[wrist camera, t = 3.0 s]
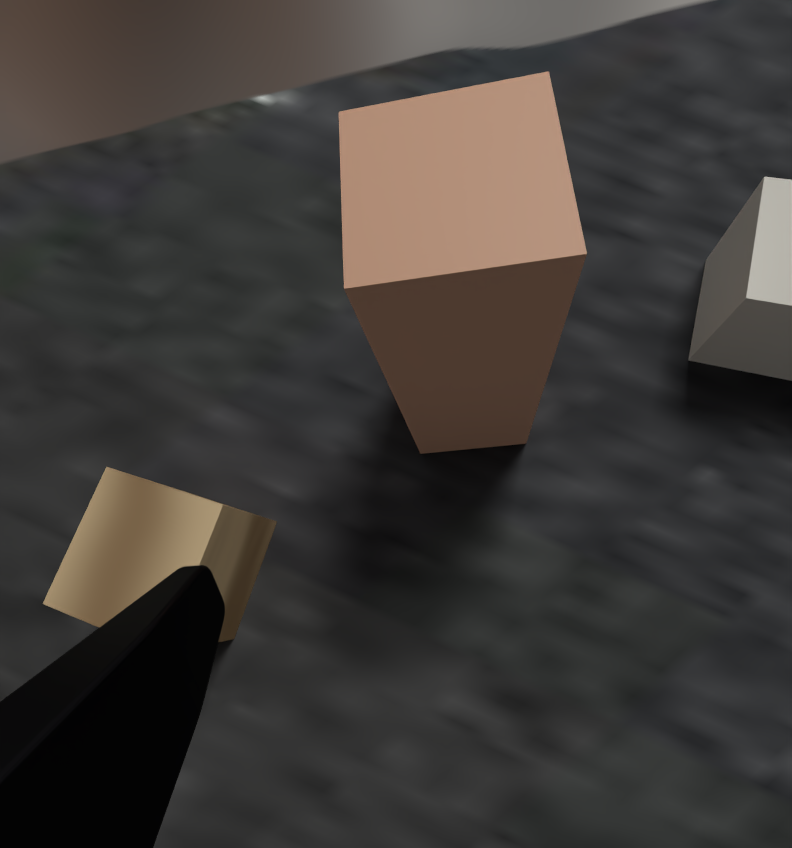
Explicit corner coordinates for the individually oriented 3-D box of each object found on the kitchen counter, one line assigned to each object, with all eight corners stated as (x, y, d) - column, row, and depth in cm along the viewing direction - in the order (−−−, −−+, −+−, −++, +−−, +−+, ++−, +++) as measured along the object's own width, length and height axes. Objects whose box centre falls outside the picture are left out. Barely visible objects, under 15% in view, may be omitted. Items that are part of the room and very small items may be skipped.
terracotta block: (525, 443, 21) (586, 254, 9) (420, 453, 22) (343, 288, 10) (512, 347, 23) (548, 71, 10) (413, 359, 23) (338, 111, 11)
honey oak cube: (277, 521, 22) (223, 504, 17) (234, 638, 21) (163, 654, 16) (181, 490, 23) (106, 466, 19) (135, 599, 22) (42, 603, 17)
